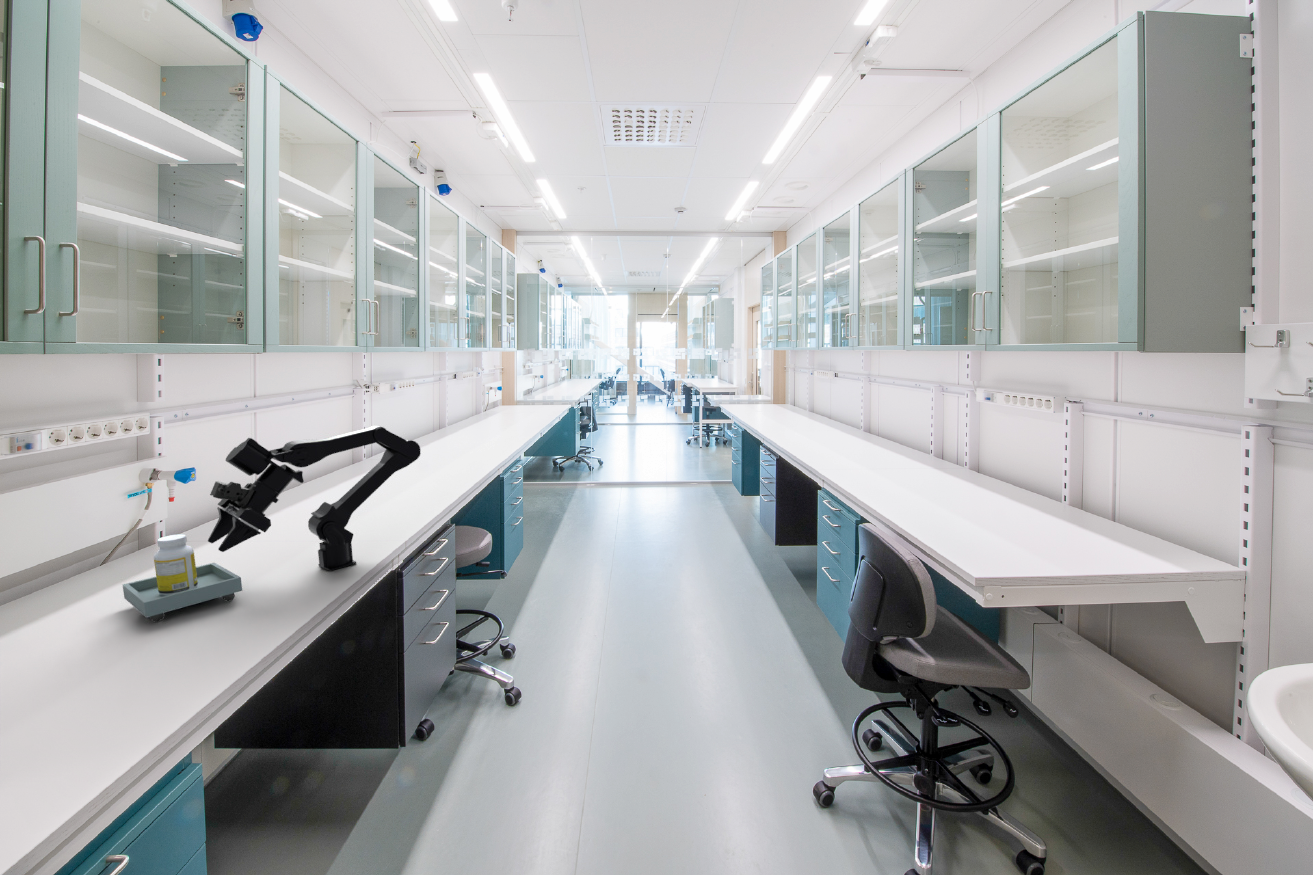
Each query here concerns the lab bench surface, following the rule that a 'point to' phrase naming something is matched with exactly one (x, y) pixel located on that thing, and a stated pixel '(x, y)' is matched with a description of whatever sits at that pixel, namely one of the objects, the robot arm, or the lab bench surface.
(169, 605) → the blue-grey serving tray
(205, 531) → the lab bench surface
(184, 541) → the pill bottle
